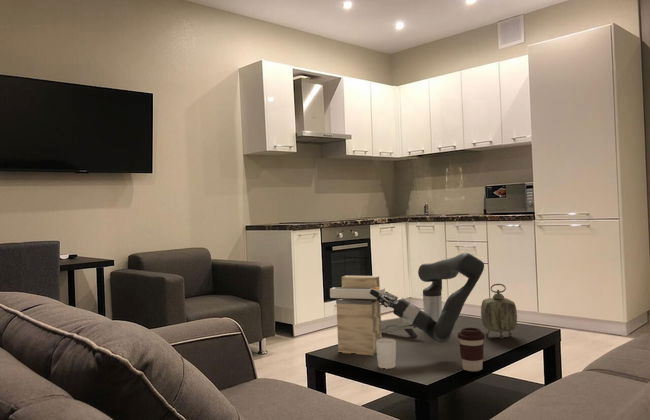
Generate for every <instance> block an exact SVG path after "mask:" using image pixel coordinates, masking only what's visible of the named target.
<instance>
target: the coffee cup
mask: <svg viewBox="0 0 650 420" xmlns="http://www.w3.org/2000/svg"><path fill="white" fill-rule="evenodd" d="M485 334H486V333H484V332H483V331H481V329H480V328H476V327H465V328H462V329H461V331H459V332H457V338H458V339H459V352H460V358H461V364H462V369H463V370H464V371H468V372H479V371H481V370H483V360H484V351H485V350H484V347H485V344H484V340H485V338H486V336H485Z"/></svg>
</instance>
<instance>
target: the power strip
mask: <svg viewBox="0 0 650 420" xmlns="http://www.w3.org/2000/svg"><path fill="white" fill-rule="evenodd" d="M371 289H373V290H375V291H377V292H378V293H380V294H382V295H385V292H386V288H383V287H381V286H380V287H374V288H352V287H342V286H339V287H338V286H336V287H335V286H334V287H331V288H329V297H330V299H342V298H355V299H377V298H376V297H374V296H373V295H371V294H370V291H371ZM381 299H382V298H381Z"/></svg>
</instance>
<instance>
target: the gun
mask: <svg viewBox="0 0 650 420" xmlns="http://www.w3.org/2000/svg"><path fill="white" fill-rule="evenodd" d="M416 328H417V327H416V326H414V325H412V324H410V323H408V322H406V321H405V320H403V319H401V318H400V317H394V318H389V319H388V318H387V319H384V320H383V319H381V334H383V333H385V334H386V333H389V332H391V333H392V332H398V331H399V332H400V331H405V332H406V333H407V335H408V336H409V337H410V338H417V337H418V334H417V333H416V332H415V331H414V330H413V329H416Z"/></svg>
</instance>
